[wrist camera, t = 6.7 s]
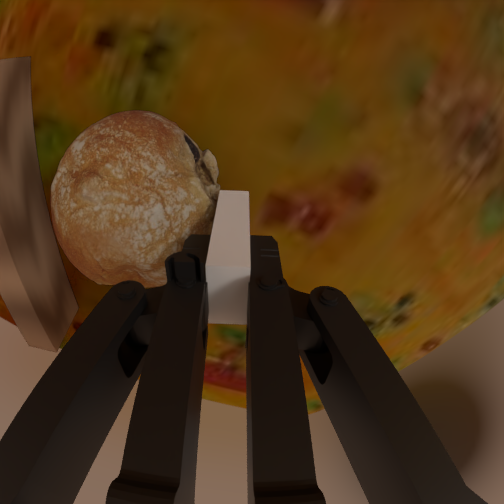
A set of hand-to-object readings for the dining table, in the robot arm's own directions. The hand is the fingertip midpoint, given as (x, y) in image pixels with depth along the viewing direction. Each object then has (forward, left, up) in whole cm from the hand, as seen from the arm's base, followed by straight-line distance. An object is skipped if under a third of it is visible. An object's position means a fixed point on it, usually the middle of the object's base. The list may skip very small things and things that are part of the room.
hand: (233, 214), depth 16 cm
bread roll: (0, -6, -2) cm, 6 cm away
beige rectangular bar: (0, -15, -2) cm, 15 cm away
